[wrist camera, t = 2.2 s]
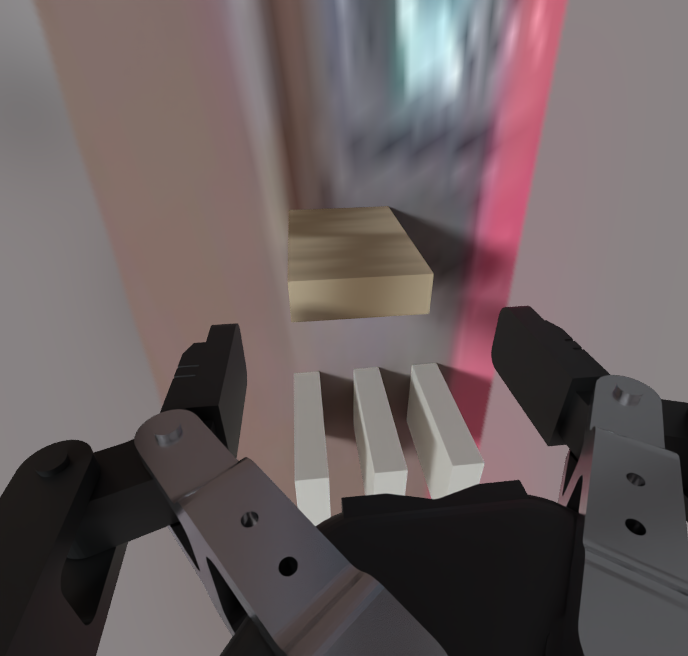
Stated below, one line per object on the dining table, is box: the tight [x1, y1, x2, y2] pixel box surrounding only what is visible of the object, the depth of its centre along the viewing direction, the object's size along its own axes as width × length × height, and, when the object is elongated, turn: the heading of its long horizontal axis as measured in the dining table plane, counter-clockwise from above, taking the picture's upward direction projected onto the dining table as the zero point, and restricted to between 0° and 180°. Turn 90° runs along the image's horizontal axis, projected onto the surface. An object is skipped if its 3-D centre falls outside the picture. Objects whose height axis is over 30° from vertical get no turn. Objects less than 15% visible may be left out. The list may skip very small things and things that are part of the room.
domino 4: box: [406, 363, 484, 499], centre depth 25 cm, size 5×2×8 cm, turn 0°
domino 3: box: [353, 367, 408, 496], centre depth 24 cm, size 5×2×8 cm, turn 0°
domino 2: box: [288, 206, 434, 322], centre depth 18 cm, size 5×2×8 cm, turn 90°
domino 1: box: [294, 372, 331, 526], centre depth 24 cm, size 5×2×8 cm, turn 0°
